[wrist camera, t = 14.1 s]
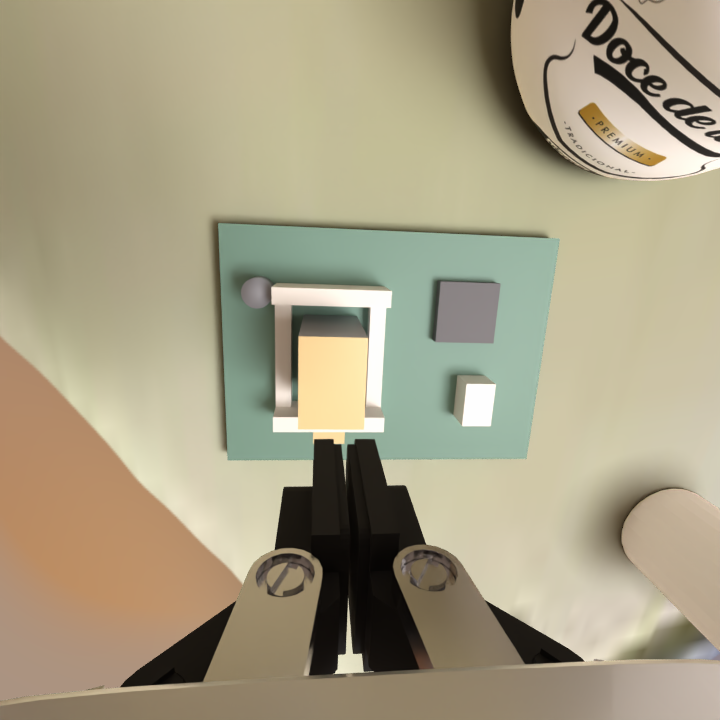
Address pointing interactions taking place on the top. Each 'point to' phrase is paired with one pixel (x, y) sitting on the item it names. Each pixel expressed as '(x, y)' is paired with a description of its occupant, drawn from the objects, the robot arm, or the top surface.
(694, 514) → the mug
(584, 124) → the milk container
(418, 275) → the board
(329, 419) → the plug
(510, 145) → the top surface
